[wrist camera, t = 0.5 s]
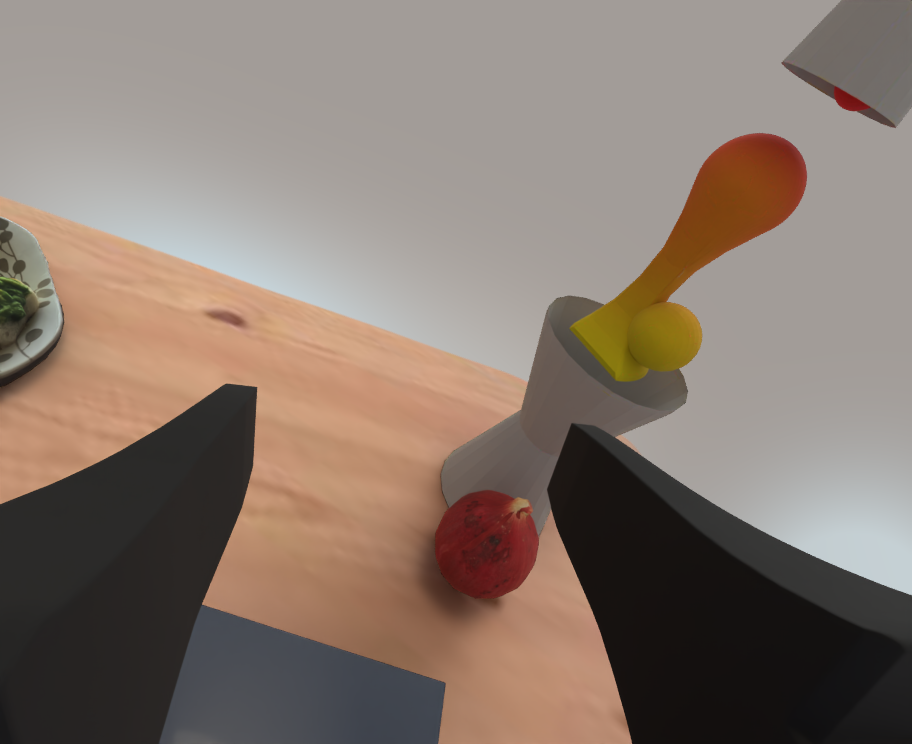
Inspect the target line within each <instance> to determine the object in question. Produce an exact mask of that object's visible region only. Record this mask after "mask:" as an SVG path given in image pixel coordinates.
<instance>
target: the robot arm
mask: <svg viewBox="0 0 912 744" xmlns="http://www.w3.org/2000/svg"><path fill="white" fill-rule="evenodd" d="M256 399H257V387H252V386H243V385H234V384H225V385H223V386H222V387H220V388H219V389H217V390H216V391H214V392H213V393H211V394H210V395H208V396H207V397H205V398H204V399H202V400H201V401H200V402H198V403H197V404H195V405H194V406H192V407H191V408H189V409H188V410H186V411H185V412H184V413H182V414H181V415H179V416H177V417H176V418H174V419H173V420H171V421H170V422H168V423H167V424H165V425H164V426H162V427H161V428H159V429H157V430H155V431H154V432H152V433H150V434H149V435H147V436H145V437H143V438H142V439H140V440H138V441H137V442H135V443H133V444H131V445H130V446H128V447H126V448H125V449H123V450H121V451H119V452H117V453H116V454H114V455H112V456H110V457H108V458H106V459H104V460H102V461H100V462H98V463H96V464H94V465H92V466H90V467H88V468H86V469H84V470H81V471H79V472H77V473H75V474H73V475H71V476H69V477H66V478H64V479H62V480H60V481H57V482H55V483H53V484H51V485H48V486H46V487H43V488H41V489H38V490H35V491H33V492H30V493H28V494H25V495H23V496H20V497H18V498H15V499H13V500H10V501H8V502H5V503H3V504H0V744H159V742H160V738H161V735H162V731H163V728H164V725H165V721H166V718H167V714H168V711H169V707H170V704H171V700H172V697H173V694H174V690H175V687H176V683H177V680H178V676H179V673H180V670H181V667H182V663H183V660H184V657H185V653H186V650H187V647H188V644H189V640H190V637H191V634H192V630H193V627H194V624H195V622H196V619H197V616H198V613H199V611H200V608H201V605H202V602H203V600H204V598H205V595H206V593H207V590H208V588H209V586H210V583H211V581H212V578H213V576H214V574H215V571H216V569H217V566H218V564H219V562H220V559H221V557H222V554H223V552H224V550H225V547H226V545H227V542H228V540H229V538H230V535H231V533H232V530H233V528H234V525H235V523H236V521H237V518H238V516H239V513H240V511H241V508H242V505H243V501H244V498H245V494H246V491H247V487H248V483H249V479H250V475H251V472H252V468H253V456H254V437H255V418H256ZM547 493H548V497H549V501H550V505H551V509H552V513H553V516H554V520H555V523H556V527H557V529H558V532H559V534H560V537H561V539H562V541H563V544H564V546H565V549H566V551H567V553H568V556H569V558H570V560H571V563H572V565H573V567H574V570H575V572H576V574H577V577H578V579H579V581H580V583H581V586H582V588H583V590H584V593H585V595H586V597H587V600H588V602H589V604H590V607H591V609H592V611H593V614H594V617H595V619H596V622H597V624H598V627H599V630H600V632H601V636H602V639H603V642H604V645H605V648H606V652H607V655H608V658H609V661H610V664H611V667H612V671H613V674H614V677H615V681H616V684H617V688H618V692H619V695H620V699H621V702H622V706H623V709H624V713H625V716H626V720H627V724H628V728H629V732H630V736H631V740H632V744H912V595H909V594H906V593H903V592H901V591H897V590H895V589H892V588H889V587H887V586H884V585H881V584H879V583H876V582H874V581H871V580H869V579H866V578H864V577H861V576H859V575H856V574H854V573H851V572H849V571H846V570H844V569H842V568H839V567H837V566H835V565H832V564H830V563H828V562H825V561H823V560H821V559H819V558H816V557H814V556H812V555H810V554H808V553H805V552H803V551H801V550H799V549H797V548H795V547H793V546H791V545H789V544H787V543H785V542H782V541H780V540H778V539H776V538H774V537H772V536H770V535H768V534H766V533H765V532H763V531H761V530H759V529H757V528H755V527H753V526H751V525H750V524H748V523H746V522H744V521H742V520H740V519H738V518H737V517H735V516H733V515H732V514H730V513H728V512H726V511H725V510H723V509H721V508H720V507H718V506H716V505H715V504H713V503H711V502H710V501H708V500H707V499H705V498H703V497H702V496H700V495H698V494H697V493H695V492H694V491H692V490H691V489H689V488H688V487H686V486H685V485H683V484H682V483H680V482H679V481H677V480H675V479H674V478H673V477H671V476H670V475H668V474H667V473H665V472H664V471H662V470H661V469H660V468H658V467H657V466H655V465H654V464H652V463H651V462H650V461H648V460H647V459H645V458H644V457H642V456H641V455H640V454H638V453H637V452H635V451H634V450H632V449H631V448H630V447H628V446H627V445H625V444H624V443H622V442H621V441H619V440H618V439H616V438H615V437H613V436H612V435H610V434H609V433H607V432H605V431H604V430H602V429H600V428H598V427H596V426H594V425H586V424H577V423H571V426H570V428H569V431H568V434H567V436H566V439H565V442H564V444H563V447H562V450H561V452H560V455H559V458H558V460H557V463H556V466H555V469H554V471H553V474H552V477H551V479H550V482H549V485H548V487H547Z"/></svg>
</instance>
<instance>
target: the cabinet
mask: <svg viewBox="0 0 912 744" xmlns="http://www.w3.org/2000/svg"><path fill="white" fill-rule="evenodd" d="M445 685H446V684H445V683H444V682H441V681H438V680H435V679H432V678H429V677H426V676H422V675H419V674H416V673H413V672H410V671H407V670H404V669H401V668H398V667H394V666H391V665H388V664H385V663H382V662H379V661H376V660H373V659H370V658H366V657H363V656H360V655H357V654H354V653H351V652H348V651H345V650H341V649H338V648H335V647H332V646H329V645H326V644H323V643H320V642H317V641H313V640H310V639H307V638H304V637H301V636H298V635H295V634H292V633H288V632H285V631H282V630H279V629H276V628H273V627H270V626H267V625H264V624H260V623H257V622H254V621H251V620H248V619H245V618H242V617H239V616H235V615H232V614H229V613H226V612H223V611H220V610H217V609H214V608H211V607H207V606H204V605H201V608H200V611H199V613H198V616H197V619H196V622H195V624H194V627H193V630H192V634H191V637H190V640H189V644H188V647H187V650H186V653H185V657H184V660H183V663H182V667H181V670H180V673H179V676H178V680H177V683H176V687H175V690H174V694H173V697H172V700H171V704H170V707H169V711H168V714H167V718H166V721H165V725H164V728H163V731H162V735H161V738H160V742H159V744H438V740H439V732H440V724H441V716H442V708H443V700H444V692H445Z"/></svg>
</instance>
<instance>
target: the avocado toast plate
mask: <svg viewBox="0 0 912 744" xmlns="http://www.w3.org/2000/svg"><path fill="white" fill-rule="evenodd" d="M63 315H64V314H63V311H62V305H61V304H60V301H59V298H58V295H57V293H56V290H55V287H54V283H53V280H52V277H51V275H50V272H49V267H48V262H47V261H46V257H45V256H44V254H43V252H42V250H41V248H40V245H39V243H38V241H37V239H36V238H35V237H34V236H33V235H32V233H30V232H29V231H28V230H26V229H25V228H23V227H22V226H20V225H18V224H16V223H14V222H13V221H10V220H8V219H6V218H3V217H1V216H0V387H2V386H5V385H7V384H9V383H11V382H12V381H14V380H16V379H17V378H19V377H21V376H22V375H24V374H25V373H27V372H29V371H30V370H32V369H33V368H34V367H36V366H37V365H38V364H40V363H41V362H42V361H43V360H45V359H46V358H47V356H48V355H49V354H50V353H51V351H52V350H53V349H54V348H55V347H56V345H57V343H58V341H59V339H60V337H61V333H62V329H63V325H64V317H63Z"/></svg>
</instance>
